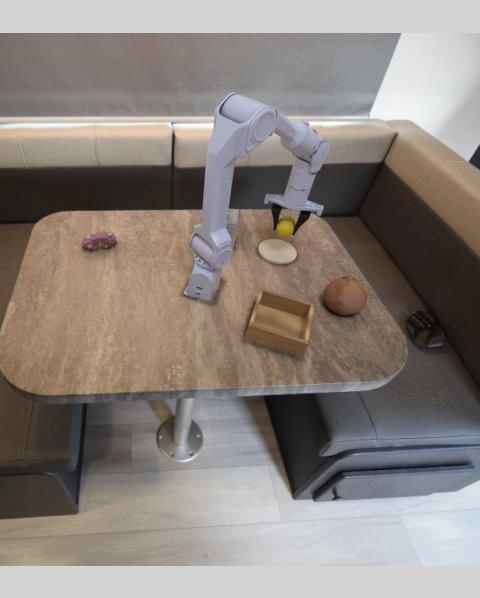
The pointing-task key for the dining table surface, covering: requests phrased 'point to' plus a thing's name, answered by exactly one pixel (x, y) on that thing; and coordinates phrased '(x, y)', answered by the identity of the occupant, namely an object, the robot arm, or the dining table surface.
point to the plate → (277, 251)
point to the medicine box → (232, 224)
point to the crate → (281, 322)
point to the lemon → (285, 226)
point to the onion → (345, 296)
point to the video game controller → (99, 240)
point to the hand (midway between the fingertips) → (284, 231)
